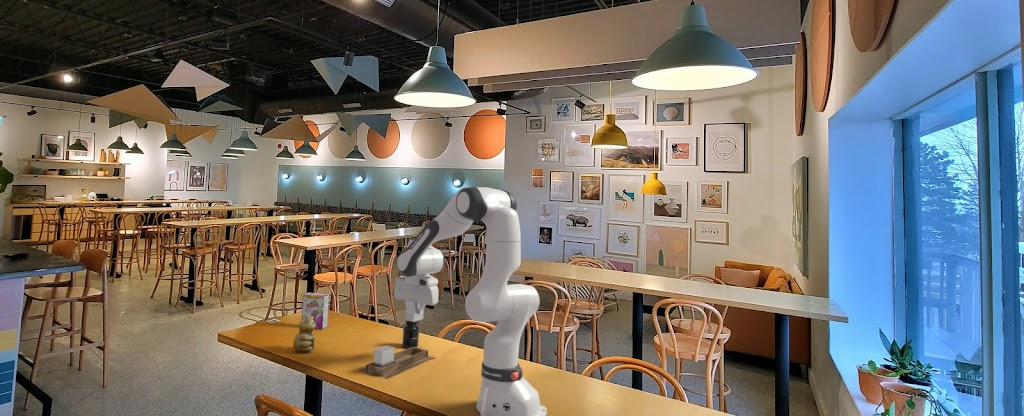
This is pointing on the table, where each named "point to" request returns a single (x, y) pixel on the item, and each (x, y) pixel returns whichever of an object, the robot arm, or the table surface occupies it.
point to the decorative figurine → (305, 335)
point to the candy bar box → (316, 308)
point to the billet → (413, 311)
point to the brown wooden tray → (399, 363)
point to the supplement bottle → (410, 334)
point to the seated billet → (383, 356)
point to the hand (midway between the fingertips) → (414, 312)
